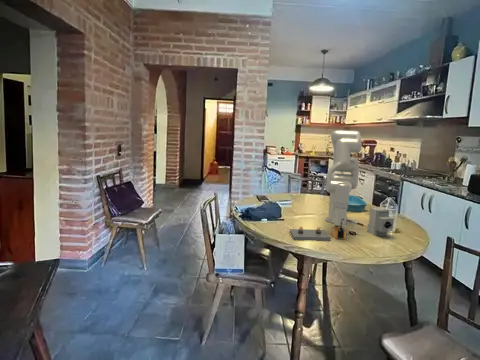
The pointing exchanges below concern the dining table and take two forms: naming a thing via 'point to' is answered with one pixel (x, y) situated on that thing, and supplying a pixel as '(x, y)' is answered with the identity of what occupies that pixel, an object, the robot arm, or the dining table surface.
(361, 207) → the casserole dish
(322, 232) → the plate
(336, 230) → the orange panelled cube
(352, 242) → the dining table surface
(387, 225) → the circuit breaker
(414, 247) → the dining table surface
